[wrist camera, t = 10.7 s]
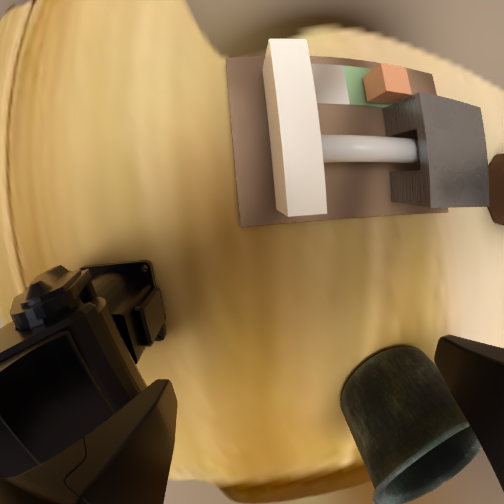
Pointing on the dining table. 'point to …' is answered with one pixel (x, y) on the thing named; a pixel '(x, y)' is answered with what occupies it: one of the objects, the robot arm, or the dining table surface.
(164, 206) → the dining table surface
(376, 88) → the peach cube
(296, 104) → the plunger
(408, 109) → the notched steel block
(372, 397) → the mug
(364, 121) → the base
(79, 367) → the robot arm
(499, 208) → the beer bottle
